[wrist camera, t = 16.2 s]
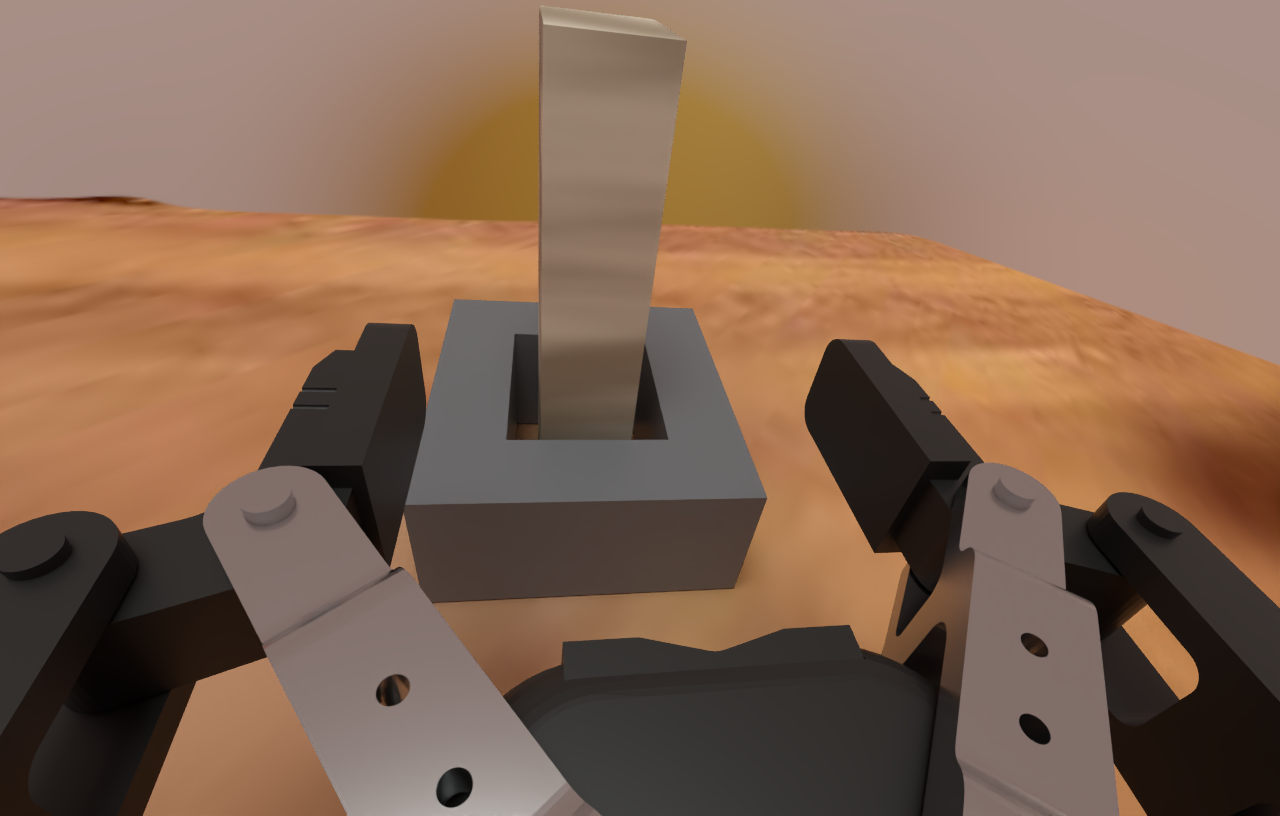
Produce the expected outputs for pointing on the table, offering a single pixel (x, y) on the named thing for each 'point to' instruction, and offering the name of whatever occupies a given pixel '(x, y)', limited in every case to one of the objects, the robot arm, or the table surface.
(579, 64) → the beige tall bar
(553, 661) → the table surface
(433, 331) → the table surface
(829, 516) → the table surface
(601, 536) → the grey square hole block
